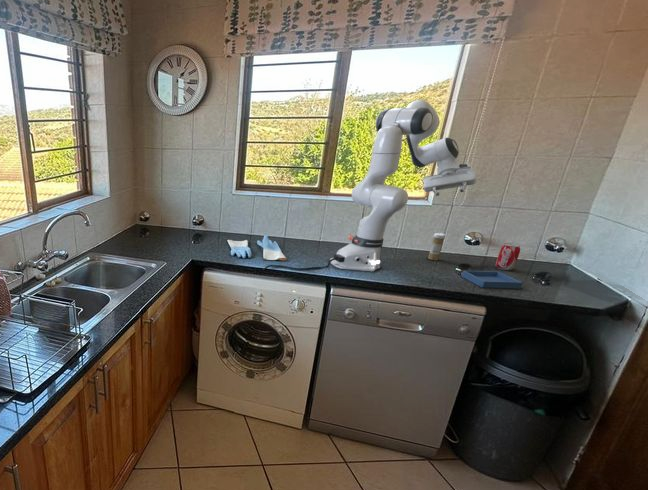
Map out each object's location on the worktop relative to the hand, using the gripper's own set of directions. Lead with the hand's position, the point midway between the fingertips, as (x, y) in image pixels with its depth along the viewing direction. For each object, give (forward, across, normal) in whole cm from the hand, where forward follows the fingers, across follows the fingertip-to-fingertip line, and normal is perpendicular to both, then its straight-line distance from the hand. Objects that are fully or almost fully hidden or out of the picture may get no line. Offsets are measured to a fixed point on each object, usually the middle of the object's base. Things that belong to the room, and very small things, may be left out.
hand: (449, 193), depth 190 cm
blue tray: (+39, +12, +20) cm, 45 cm away
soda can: (+19, +18, +38) cm, 46 cm away
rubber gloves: (+35, -85, -15) cm, 93 cm away
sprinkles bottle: (+17, -9, +29) cm, 35 cm away
